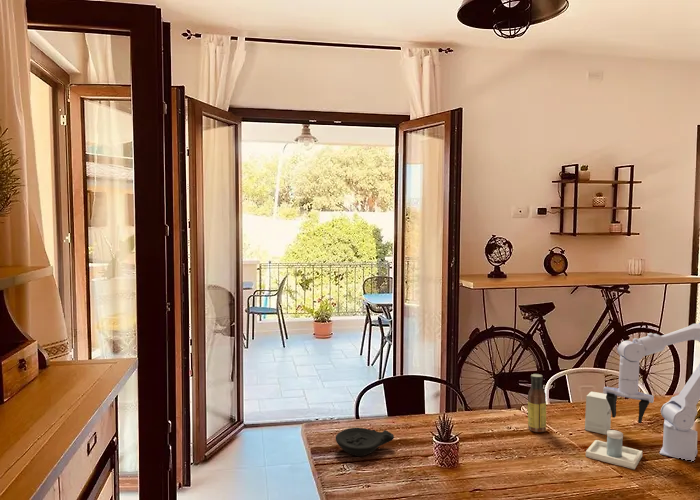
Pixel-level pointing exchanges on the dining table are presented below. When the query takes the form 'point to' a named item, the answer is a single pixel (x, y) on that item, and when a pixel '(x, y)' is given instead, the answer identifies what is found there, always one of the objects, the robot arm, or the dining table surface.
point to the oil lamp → (362, 440)
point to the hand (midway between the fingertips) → (626, 419)
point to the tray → (600, 453)
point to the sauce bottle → (536, 405)
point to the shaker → (614, 443)
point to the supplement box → (597, 413)
